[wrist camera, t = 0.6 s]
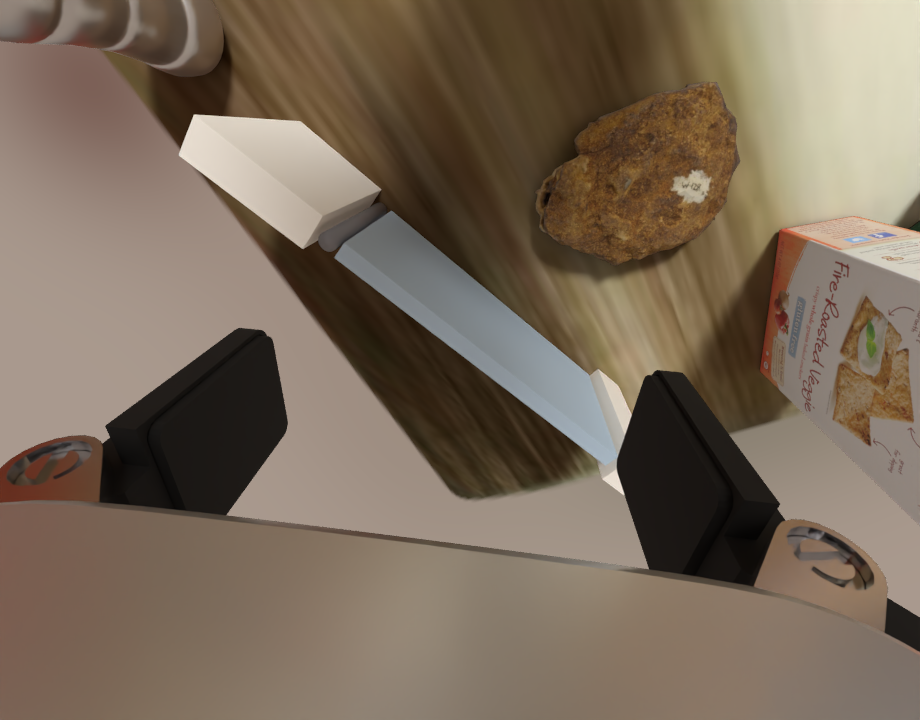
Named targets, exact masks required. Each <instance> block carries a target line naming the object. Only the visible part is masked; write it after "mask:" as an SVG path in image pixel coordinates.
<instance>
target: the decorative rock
mask: <svg viewBox="0 0 920 720" xmlns="http://www.w3.org/2000/svg"><path fill="white" fill-rule="evenodd" d="M736 130H737V123H736V119H735V117H734V116H733V114H732V113H731V111H730V110H728V109H727V108H726V105H725V102H724V99H723V96H722V93H721V91H720V89H719V86H718V84H717V82H701V83H695V84H688V85H687V86H686V88H683V89H681V90H674V91H664V92H660V93H655V94H652V95H650V96H648V97H646V98H643V99H641V100H639V101H637V102H635V103H634V104H631V105H629V106H626V107H624V108H622V109H619V110H617V111H614V112H612V113H609V114H606V115H604V116H601V117H599V118H598V119H597V121H596V122H590V123H588V127H587V128H586V129H585V130H583V131H581V132H580V133H579V134H578V135H577V137H576V138H575V140H574V143H575V151H576V152H577V153H578V156H577V157H576V158H575V159H572V160H571V161H568V162H564V163H563V164H562V165H561V166H559V167H557V168H555V170H554V172H553V174H552V175H551V176H549V177H547V178H545V179H544V180H543V185H542V186H541V188H540V189H539V190H537V191H535V193H537V194H538V196H537V200H536V204H535V208H536V211H537V212H538V214H539V215H540V216H541V218H540V225H539V228H540V230H541V231H542V232H544V233H546V234H549V235H550V236H551V237H552V238H553V239H554V240H556V241H557V242H558V243H560V244H561V245H569V246H571V247H572V248H573V249H576V250H579V251H580V252H582V253H587V254H591V255H594V256H595V257H596V258H599V259H602V260H605V261H607V262H608V263H610V264H612V265H613V266H615V265H619V264H621V263H624V262H627V261H630V260H631V259H636V260H638V259H643V258H644V257H646V256H648V255H652V254H655V253H657V252H659V251H662V250H669V249H672V248H675V247H677V246H680V245H682V244H684V243H686V242H688V241H690V240H693V239H695V238H697V237H698V236H699V235H700V234H701V233H702V232H703V231H704V230H705V229H706V228H707V227H708V226H709V225H710V224H711V222H712V220H715V216H716V215H717V213H718V212H719V211H720V210H721V209H722V208H723V206H724V205H725V203H726V202H727V198H726V196H727V190H728V186H729V182H730V180H731V177H732V174H733V172H734V171H735V169H736V168H737V166H738V164H739V163H740V159H739V155H738V151H737V145H736Z"/></svg>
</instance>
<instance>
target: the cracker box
mask: <svg viewBox="0 0 920 720" xmlns="http://www.w3.org/2000/svg"><path fill="white" fill-rule="evenodd" d="M760 372H761V373H762V374H763V375H764V376H765V377H766V378H768V379H769V380H770V381H771V382H772V383H773V384H774V385H775V386H776V387H777V388H778V389H779V390H780V391H781V392H782V393H783V394H784V395H785V396H786V397H787V398H788V399H789V400H790V401H791V402H792V403H793V404H794V405H795V406H796V407H798V408H799V409H800V410H801V411H802V412H803V413H804V414H805V415H806V416H807V417H808V418H809V419H810V420H811V421H812V422H813V423H814V424H815V425H816V426H817V427H818V428H819V429H821V431H822V432H823V433H825V434H826V435H827V436H828V437H829V438H830V439H831V440H832V441H833V442H834V443H835V444H836V445H837V446H838V447H839V448H840V449H841V450H842V451H843V452H844V453H845V454H846V455H847V456H848V457H849V458H850V459H852V461H853V462H855V463H856V464H857V465H858V466H859V467H860V468H861V469H862V470H863V471H864V472H865V473H866V474H867V475H868V476H869V477H870V478H871V479H872V480H873V481H874V482H875V483H876V484H877V485H878V486H879V487H881V489H882V490H884V491H885V492H886V493H887V494H888V495H889V496H890V497H891V498H892V499H893V500H894V501H895V502H896V503H897V504H898V505H899V506H900V507H901V508H902V509H903V510H904V511H905V512H906V513H907V514H908V515H909V516H910V517H911V518H912V519H913V520H914V521H915V522H916V523H918V524H919V525H920V232H917V231H913V230H909V229H905V228H901V227H897V226H893V225H889V224H885V223H880V222H876V221H873V220H869V219H865V218H861V217H855V216H853V217H846V218H841V219H835V220H830V221H825V222H819V223H814V224H808V225H803V226H797V227H792V228H786V229H781V230H779V239H778V247H777V254H776V261H775V268H774V276H773V283H772V290H771V297H770V303H769V311H768V318H767V325H766V332H765V339H764V345H763V352H762V359H761V366H760Z"/></svg>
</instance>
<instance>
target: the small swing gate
mask: <svg viewBox="0 0 920 720" xmlns="http://www.w3.org/2000/svg"><path fill="white" fill-rule="evenodd" d="M179 156H180V157H181V158H183V159H184V160H185V161H187V162H188V163H189V164H191V165H192V166H193V167H195V168H196V169H197V170H199V171H200V172H201V173H203V174H204V175H205V176H206V177H208V178H209V179H210V180H212V181H213V182H214V183H216V184H217V185H218V186H220V187H221V188H222V189H224V190H225V191H226V192H228V193H229V194H230V195H232V196H233V197H234V198H236V199H237V200H238V201H240V202H241V203H242V204H244V205H245V206H246V207H248V208H249V209H250V210H252V211H253V212H254V213H255V214H257V215H258V216H259V217H261V218H262V219H263V220H265V221H266V222H267V223H269V224H270V225H271V226H273V227H274V228H275V229H277V230H278V231H279V232H281V233H282V234H283V235H285V236H286V237H287V238H289V239H290V240H291V241H293V242H294V243H295V244H297V245H298V246H299V247H300V248H302V249H304V248H306V247H307V246H309V245H311V244H313V243H314V242H316V241H318V237H319V235H320V234H321V233H322V232H324V231H326V230H328V229H330V228H332V227H333V226H335V225H337V224H339V223H341V222H343V221H345V220H346V219H348V218H350V217H352V216H354V215H356V214H357V213H359V212H361V211H363V210H365V209H367V208H369V207H370V206H371V205H372V203H373V202H374V200H375V199H376V197H377V196H378V194H379V193H380V191H381V189H380V188H379V187H378V186H377V185H375V184H374V183H373V182H372V181H371V180H369V179H368V178H367V177H366V176H365V175H364V174H362V173H361V172H360V171H359V170H358V169H356V168H355V167H354V166H353V165H352V164H350V163H349V162H348V161H347V160H346V159H345V158H343V157H342V156H341V155H340V154H339V153H337V152H336V151H335V150H334V149H333V148H331V147H330V146H329V145H328V144H327V143H326V142H324V141H323V140H322V139H321V138H320V137H318V136H317V135H316V134H315V133H314V132H312V131H311V130H310V129H309V128H308V127H307V126H305V125H304V124H303V123H302V122H301V121H287V120H272V119H256V118H241V117H225V116H210V115H195V114H194V116H193V119H192V121H191V124H190V126H189V129H188V131H187V134H186V137H185V139H184V142H183V144H182V147H181V150H180V152H179ZM589 377H590V379H591V382H592V385H593V388H594V391H595V394H596V396H597V399H598V402H599V405H600V408H601V410H602V413H603V416H604V419H605V422H606V425H607V427H608V430H609V433H610V436H611V439H612V441H613V444H614V447H615V450H616V453H617V455H618V454H619V452H620V449H621V446H622V443H623V440H624V437H625V434H626V431H627V428H628V425H629V422H630V419H631V416H632V415H631V413H630V410H629V408H628V406H627V404H626V402H625V400H624V397H623V395H622V393H621V391H620V389H619V386H618V385H617V384H616V383H614V382H613V381H612V380H611V379H610V378H608V377H607V376H606V375H605V374H604V373H603V372H601V371H600V370H599V369H597V370H596V371H595V372H594V373H592V374H591V375H590V376H589ZM617 458H618V457H617ZM617 458H616V459H614V460H613V461H612V462H610V463H609V464H607V465H606V466H605V465H604V464H603V463H601V462H600V461H599V460H597V463H598V466H599V470H600V473H601V477H602V479H603V480H604V481H606V482H607V483H608V484H610V485H611V486H612V487H614V488H615V489H616V490H617V491H619V492H620V493H621V494H623V495H624V491H623V488H622V485H621V482H620V479H619V476H618V473H617ZM624 496H625V495H624Z"/></svg>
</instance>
